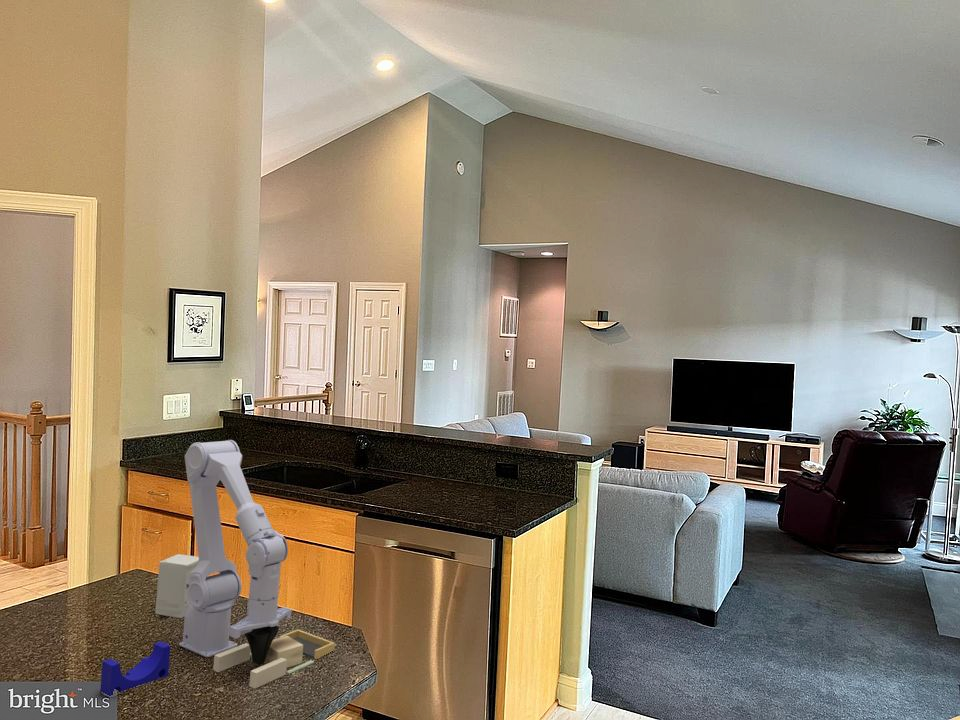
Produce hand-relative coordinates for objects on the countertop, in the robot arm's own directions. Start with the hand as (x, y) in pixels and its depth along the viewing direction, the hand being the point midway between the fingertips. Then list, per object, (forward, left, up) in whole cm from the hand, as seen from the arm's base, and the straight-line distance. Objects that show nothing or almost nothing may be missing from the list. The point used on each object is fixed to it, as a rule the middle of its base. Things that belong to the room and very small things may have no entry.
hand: (258, 662), depth 147 cm
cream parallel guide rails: (0, -2, -1) cm, 2 cm away
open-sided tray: (0, +13, -1) cm, 13 cm away
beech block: (+1, +5, -2) cm, 6 cm away
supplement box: (-37, +8, -2) cm, 38 cm away
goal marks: (0, +6, -1) cm, 6 cm away
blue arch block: (-13, -19, -2) cm, 23 cm away
